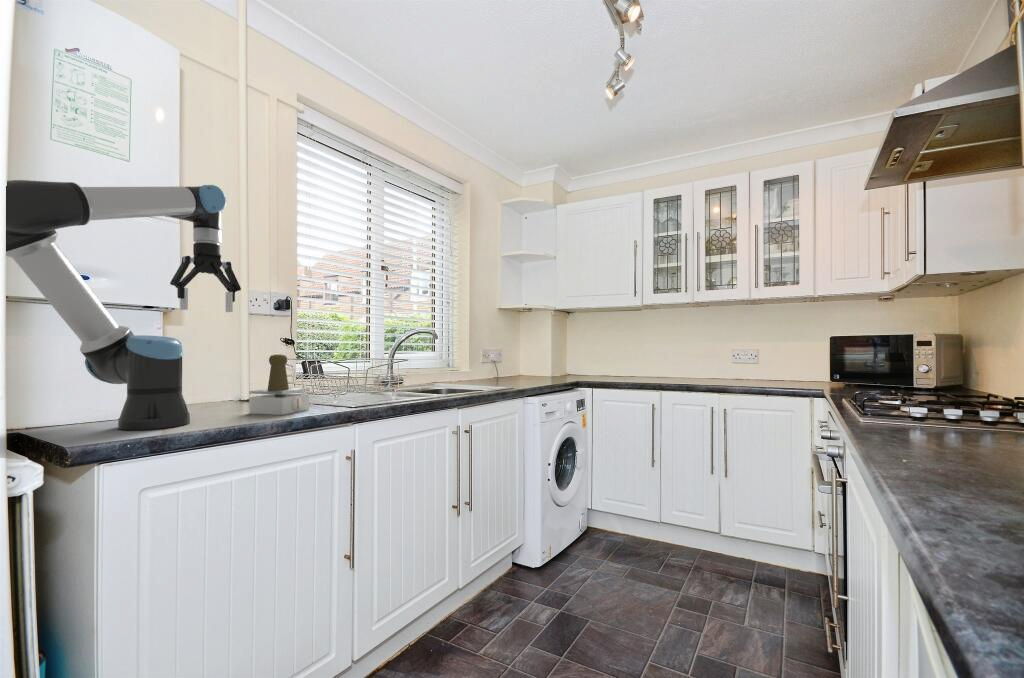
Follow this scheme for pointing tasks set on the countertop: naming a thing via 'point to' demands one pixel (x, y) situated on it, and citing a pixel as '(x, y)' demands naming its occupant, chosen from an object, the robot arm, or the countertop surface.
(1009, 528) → the countertop surface
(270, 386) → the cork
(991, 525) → the countertop surface
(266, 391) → the scale pan
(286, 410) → the kitchen scale
